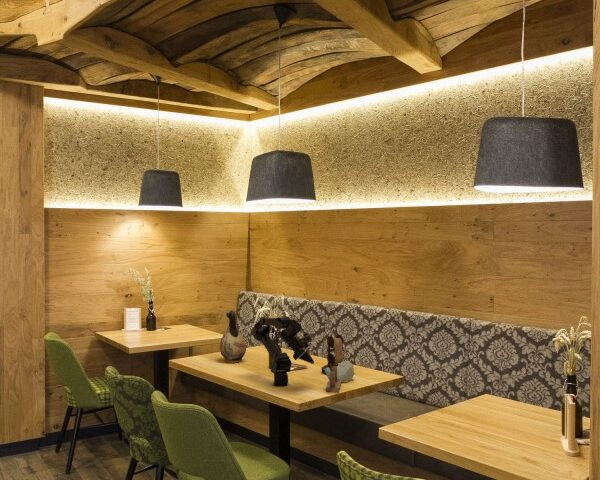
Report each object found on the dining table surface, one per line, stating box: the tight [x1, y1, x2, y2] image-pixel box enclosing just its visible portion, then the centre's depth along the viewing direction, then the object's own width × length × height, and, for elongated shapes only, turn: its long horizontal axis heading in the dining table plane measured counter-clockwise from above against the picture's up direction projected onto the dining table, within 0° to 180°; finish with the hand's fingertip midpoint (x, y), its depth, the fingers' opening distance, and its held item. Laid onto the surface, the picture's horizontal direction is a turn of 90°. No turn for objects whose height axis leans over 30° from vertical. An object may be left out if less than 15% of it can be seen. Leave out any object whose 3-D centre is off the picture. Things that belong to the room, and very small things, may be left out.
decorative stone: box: [337, 360, 355, 383], centre depth 308 cm, size 13×11×10 cm
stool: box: [325, 366, 342, 394], centre depth 291 cm, size 6×14×10 cm, turn 171°
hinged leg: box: [324, 367, 331, 381], centre depth 292 cm, size 2×2×7 cm
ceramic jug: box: [219, 310, 247, 364], centre depth 355 cm, size 17×15×30 cm
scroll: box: [321, 334, 344, 374], centre depth 326 cm, size 15×15×20 cm
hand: (313, 363), depth 293 cm, fingers closed
